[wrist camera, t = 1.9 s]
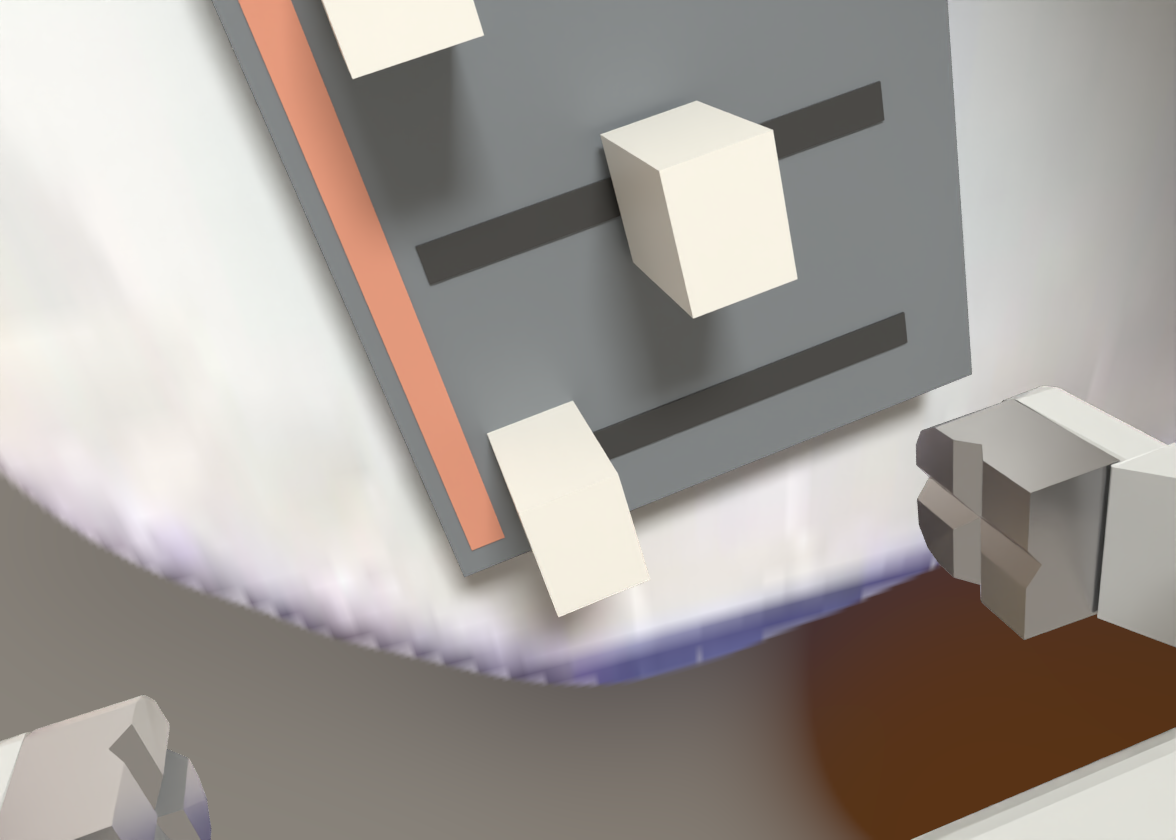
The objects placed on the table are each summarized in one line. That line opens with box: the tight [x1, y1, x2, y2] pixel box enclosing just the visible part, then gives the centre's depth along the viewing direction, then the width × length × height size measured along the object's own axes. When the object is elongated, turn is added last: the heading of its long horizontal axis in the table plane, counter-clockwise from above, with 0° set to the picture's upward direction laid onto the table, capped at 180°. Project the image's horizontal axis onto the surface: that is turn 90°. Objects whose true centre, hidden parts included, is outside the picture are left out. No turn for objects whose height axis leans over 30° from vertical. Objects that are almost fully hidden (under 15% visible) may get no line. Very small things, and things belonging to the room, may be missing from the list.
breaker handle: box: [600, 101, 797, 319], centre depth 26 cm, size 3×4×5 cm
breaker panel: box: [212, 0, 972, 617], centre depth 27 cm, size 20×22×8 cm
